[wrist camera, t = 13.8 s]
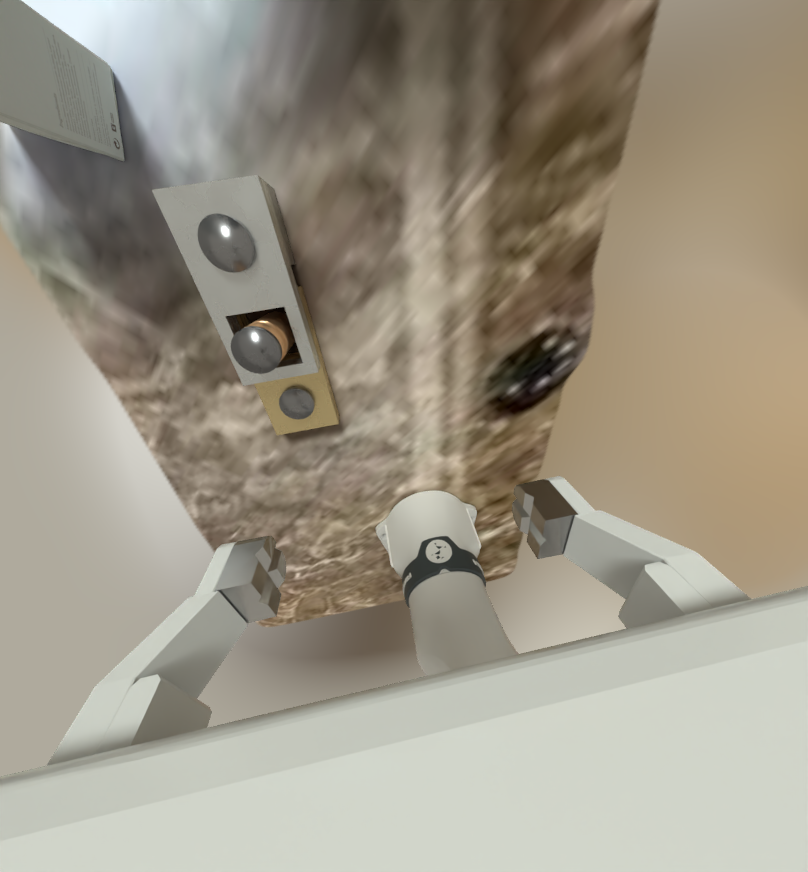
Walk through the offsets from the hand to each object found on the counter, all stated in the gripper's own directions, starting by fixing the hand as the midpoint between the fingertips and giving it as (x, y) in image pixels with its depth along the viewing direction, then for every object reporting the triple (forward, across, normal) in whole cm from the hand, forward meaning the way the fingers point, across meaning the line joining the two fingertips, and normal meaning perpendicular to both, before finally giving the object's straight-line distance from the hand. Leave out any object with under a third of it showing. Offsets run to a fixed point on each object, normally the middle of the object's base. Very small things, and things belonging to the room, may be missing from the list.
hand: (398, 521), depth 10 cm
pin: (+29, +10, -2) cm, 31 cm away
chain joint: (+29, +10, -2) cm, 31 cm away
